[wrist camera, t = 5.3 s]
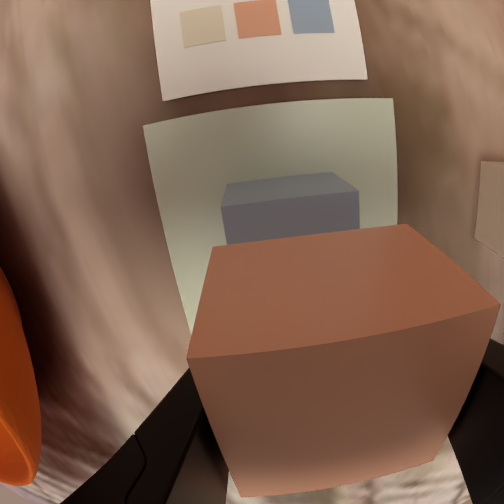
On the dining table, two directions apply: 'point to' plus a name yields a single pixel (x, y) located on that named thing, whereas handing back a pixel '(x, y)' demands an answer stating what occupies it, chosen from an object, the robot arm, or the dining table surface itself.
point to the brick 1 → (335, 355)
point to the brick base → (289, 207)
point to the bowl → (17, 397)
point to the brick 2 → (491, 207)
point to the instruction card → (254, 43)
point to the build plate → (264, 168)
